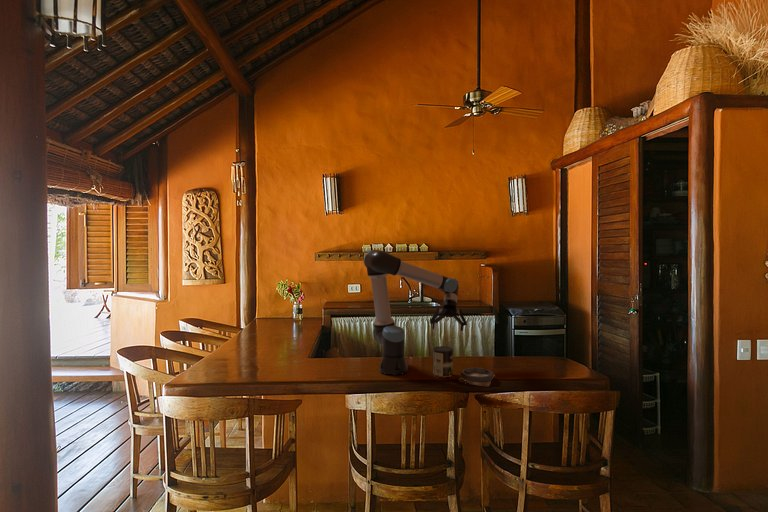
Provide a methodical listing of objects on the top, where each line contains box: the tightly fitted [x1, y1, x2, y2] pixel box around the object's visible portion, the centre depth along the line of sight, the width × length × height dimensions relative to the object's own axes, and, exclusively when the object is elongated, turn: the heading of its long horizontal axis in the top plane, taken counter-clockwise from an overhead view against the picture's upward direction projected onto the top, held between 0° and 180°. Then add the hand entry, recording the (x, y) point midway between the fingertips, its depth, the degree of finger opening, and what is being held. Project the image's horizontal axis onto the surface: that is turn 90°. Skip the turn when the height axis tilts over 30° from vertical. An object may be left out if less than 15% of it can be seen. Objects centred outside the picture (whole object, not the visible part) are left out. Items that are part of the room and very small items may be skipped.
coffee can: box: [432, 345, 454, 376], centre depth 248 cm, size 10×10×14 cm
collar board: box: [459, 366, 496, 388], centre depth 241 cm, size 15×15×4 cm
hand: (446, 335), depth 258 cm, fingers open, 13 cm apart
